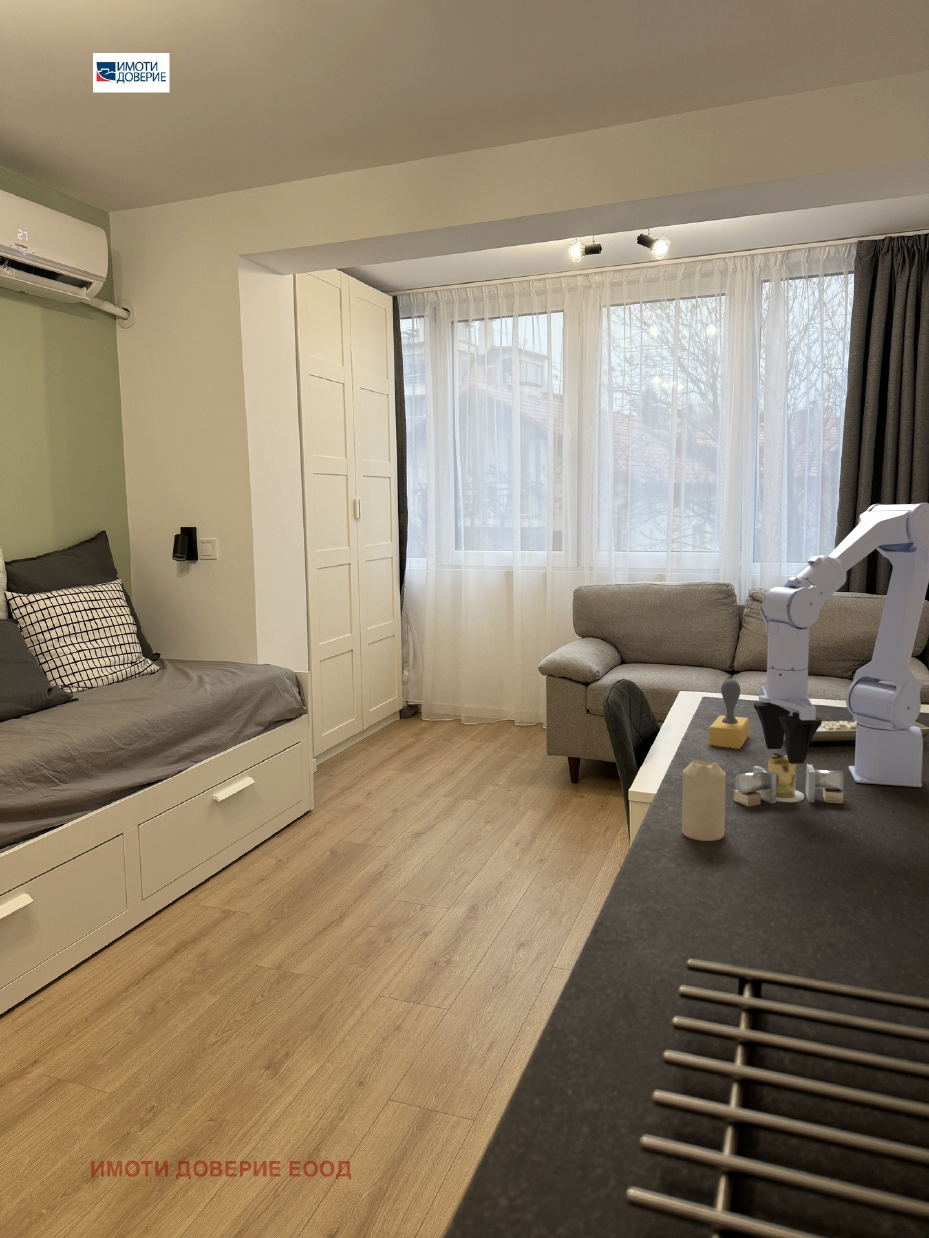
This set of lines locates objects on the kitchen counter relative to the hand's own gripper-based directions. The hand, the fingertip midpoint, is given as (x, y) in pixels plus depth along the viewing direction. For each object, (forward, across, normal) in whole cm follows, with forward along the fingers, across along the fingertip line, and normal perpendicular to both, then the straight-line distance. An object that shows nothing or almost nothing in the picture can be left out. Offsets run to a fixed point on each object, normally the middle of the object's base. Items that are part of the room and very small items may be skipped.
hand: (784, 755), depth 126 cm
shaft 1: (+6, +2, -6) cm, 9 cm away
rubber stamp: (+7, -32, +4) cm, 33 cm away
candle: (+6, +14, -18) cm, 23 cm away
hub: (+6, 0, 0) cm, 6 cm away
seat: (+6, 0, 0) cm, 6 cm away
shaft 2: (+6, +2, +5) cm, 8 cm away
